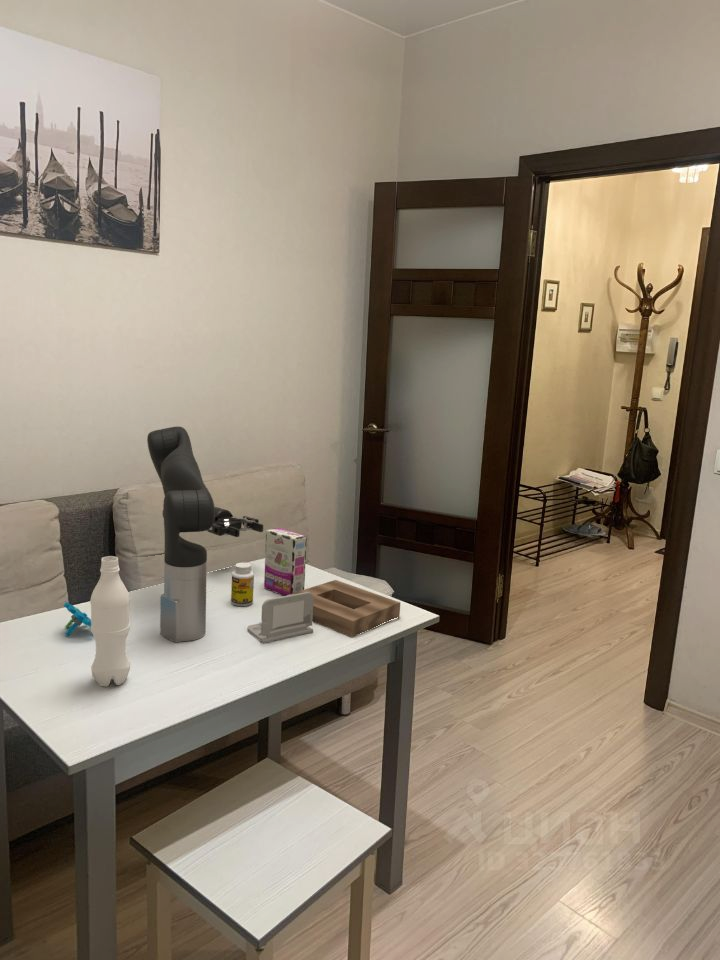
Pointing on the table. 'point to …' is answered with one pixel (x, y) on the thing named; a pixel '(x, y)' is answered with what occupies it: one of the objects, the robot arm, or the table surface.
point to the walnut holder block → (350, 607)
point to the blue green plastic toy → (76, 618)
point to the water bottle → (110, 625)
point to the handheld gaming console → (284, 618)
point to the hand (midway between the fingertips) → (250, 530)
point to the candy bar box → (284, 561)
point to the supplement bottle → (242, 585)
